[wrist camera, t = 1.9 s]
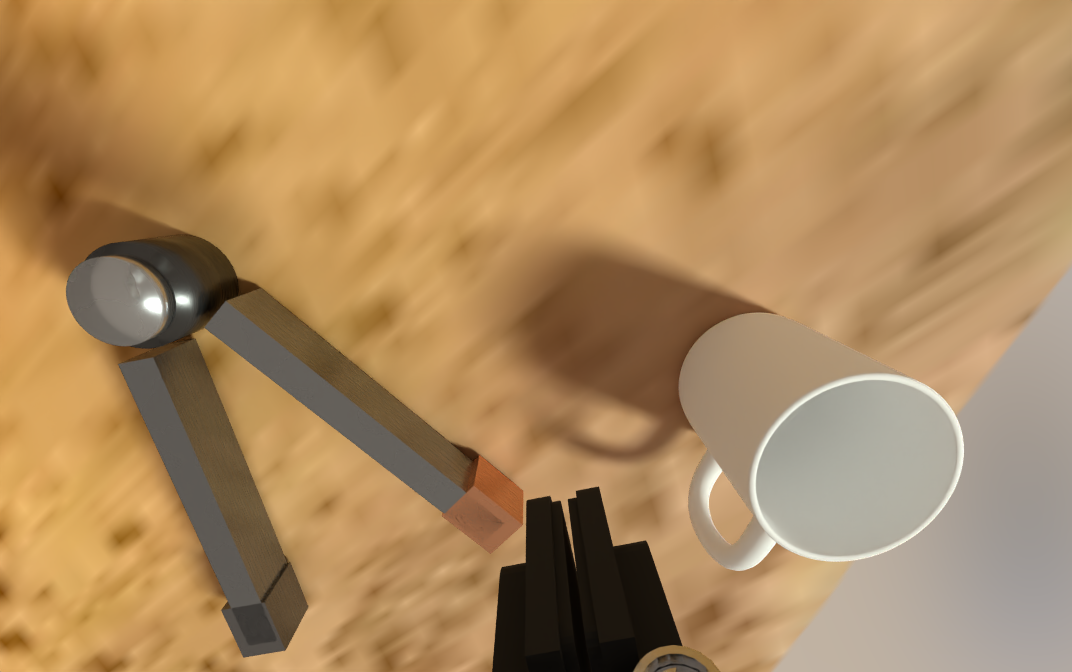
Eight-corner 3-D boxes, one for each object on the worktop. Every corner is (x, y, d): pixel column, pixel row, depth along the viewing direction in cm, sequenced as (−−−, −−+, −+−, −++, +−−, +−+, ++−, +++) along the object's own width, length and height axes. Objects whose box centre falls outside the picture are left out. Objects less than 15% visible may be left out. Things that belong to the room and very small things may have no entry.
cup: (846, 350, 28) (1011, 434, 19) (727, 509, 31) (816, 652, 22) (727, 282, 27) (838, 334, 18) (615, 454, 30) (657, 580, 20)
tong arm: (132, 284, 26) (49, 304, 22) (186, 212, 25) (110, 218, 21) (467, 542, 31) (457, 603, 27) (523, 491, 30) (522, 545, 26)
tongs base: (116, 247, 26) (46, 256, 22) (218, 226, 26) (164, 232, 22) (273, 608, 33) (239, 663, 29) (354, 594, 33) (331, 648, 29)
